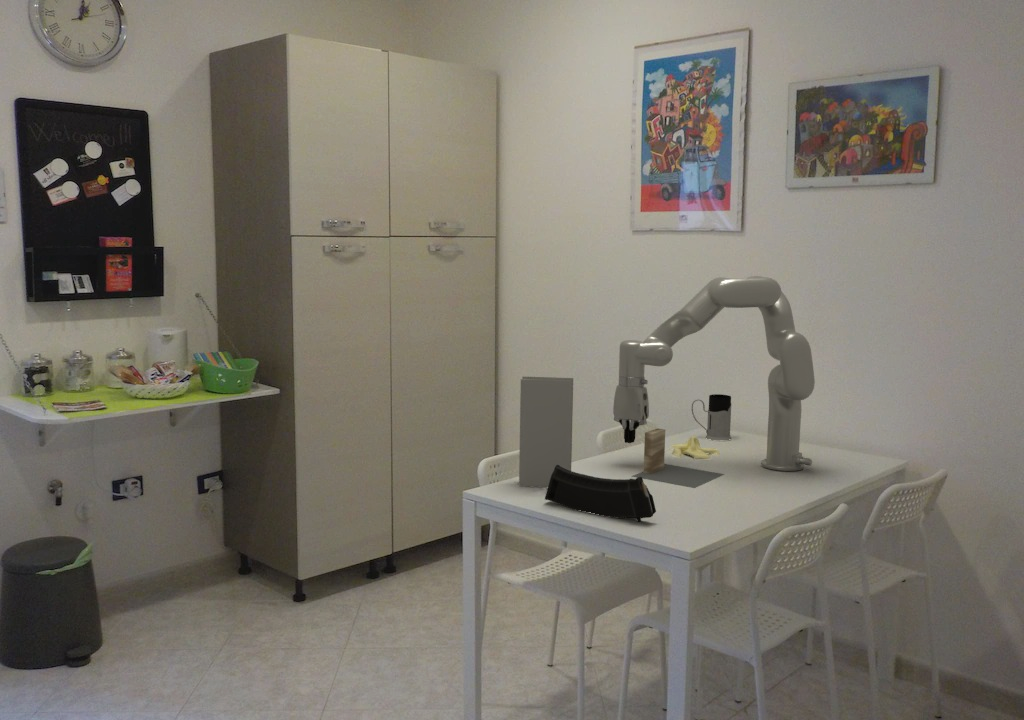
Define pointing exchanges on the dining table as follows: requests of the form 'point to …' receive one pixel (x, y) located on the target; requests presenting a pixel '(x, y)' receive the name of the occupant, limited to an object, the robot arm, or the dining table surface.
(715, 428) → the glass holder
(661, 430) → the tile
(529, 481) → the grey tall flat panel
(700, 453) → the cloth
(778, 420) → the robot arm
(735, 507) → the dining table surface
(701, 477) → the mat
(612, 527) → the dining table surface
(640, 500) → the magazine
